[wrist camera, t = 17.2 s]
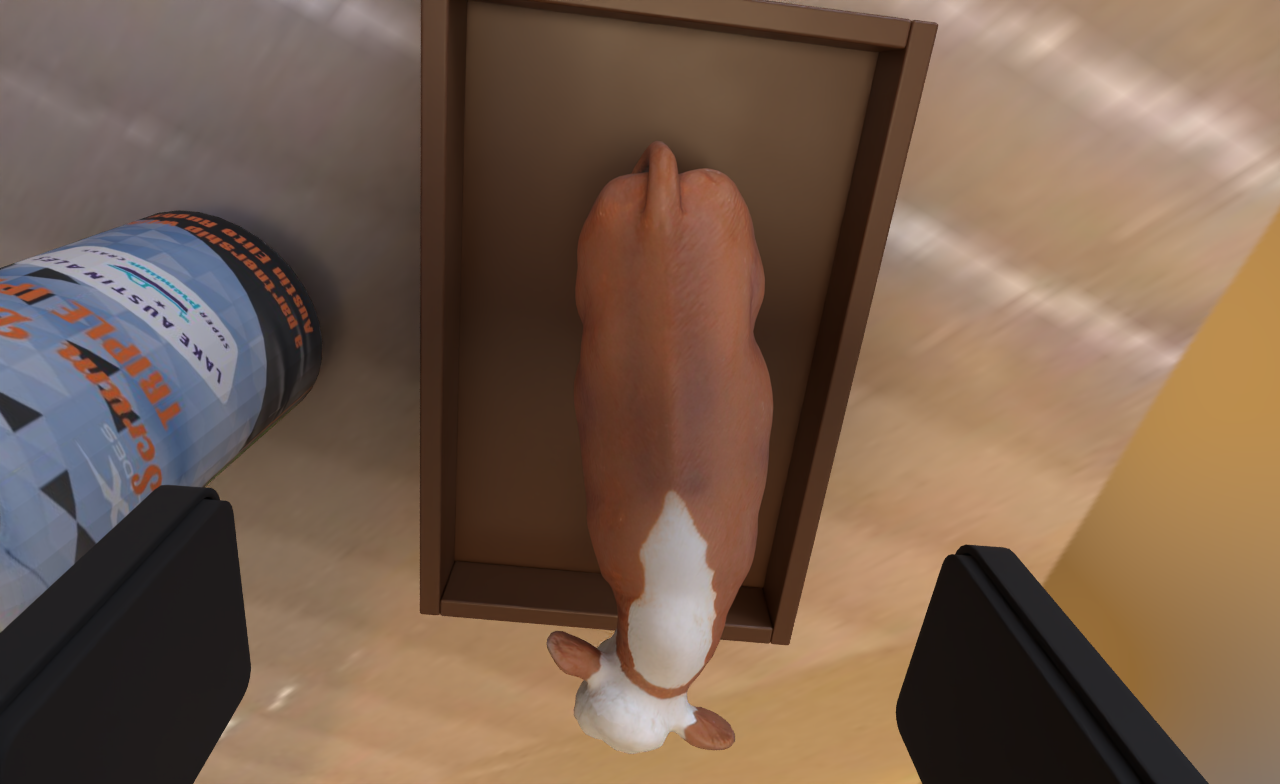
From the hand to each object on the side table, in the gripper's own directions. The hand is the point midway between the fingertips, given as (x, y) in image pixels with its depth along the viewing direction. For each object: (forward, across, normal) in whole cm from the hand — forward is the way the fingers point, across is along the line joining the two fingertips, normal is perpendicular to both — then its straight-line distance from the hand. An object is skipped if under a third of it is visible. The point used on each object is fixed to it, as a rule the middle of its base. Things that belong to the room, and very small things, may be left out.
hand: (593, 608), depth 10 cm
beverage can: (+13, +11, +1) cm, 17 cm away
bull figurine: (+12, -2, +2) cm, 12 cm away
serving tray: (+12, -1, 0) cm, 12 cm away
